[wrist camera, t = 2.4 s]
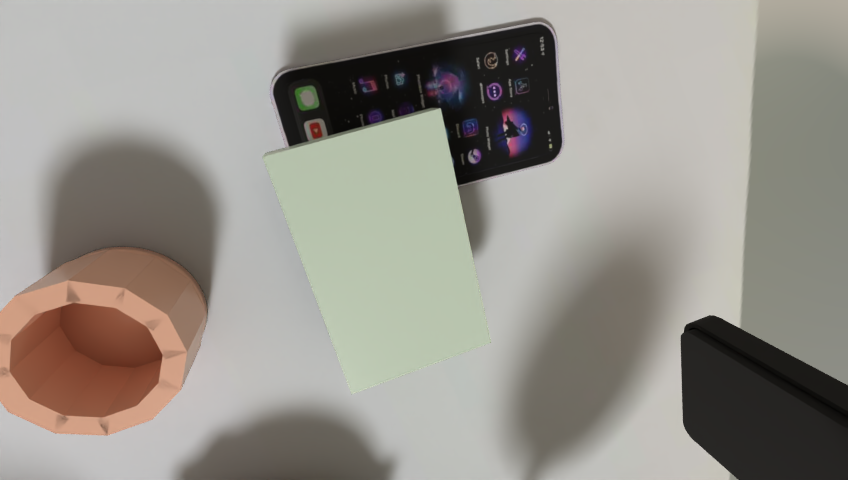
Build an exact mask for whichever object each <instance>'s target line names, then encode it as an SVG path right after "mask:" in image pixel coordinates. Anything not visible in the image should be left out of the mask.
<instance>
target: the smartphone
mask: <svg viewBox="0 0 848 480" xmlns="http://www.w3.org/2000/svg"><path fill="white" fill-rule="evenodd" d="M270 97H271V101H272V104H273V107H274V111H275V114H276V117H277V120H278V124H279V127H280V130H281V134H282V137H283V140H284V143H285V147H289V146H293V145H297V144H300V143H304V142H308V141H312V140H315V139H319V138H323V137H326V136H330V135H334V134H337V133H341V132H345V131H348V130H352V129H356V128H359V127H363V126H367V125H370V124H374V123H378V122H382V121H385V120H389V119H393V118H396V117H400V116H404V115H407V114H411V113H415V112H418V111H422V110H426V109H429V108H441V112H442V117H443V121H444V126H445V131H446V135H447V140H448V144H449V149H450V154H451V158H452V163H453V168H454V172H455V177H456V182H457V186H458V187H461V186H465V185H469V184H473V183H477V182H480V181H484V180H488V179H492V178H496V177H500V176H504V175H508V174H512V173H516V172H520V171H524V170H527V169H531V168H535V167H539V166H543V165H547V164H550V163H552V162H554V161H555V160H556V159H557V158H558V157H559V155H560V154H561V152H562V150H563V147H564V130H563V118H562V105H561V92H560V77H559V61H558V46H557V39H556V35H555V33H554V31H553V29H552V28H551V27H550V26H549V25H547V24H545V23H543V22H533V23H527V24H522V25H517V26H512V27H506V28H501V29H496V30H490V31H485V32H480V33H475V34H470V35H465V36H459V37H454V38H449V39H444V40H438V41H433V42H428V43H423V44H417V45H412V46H407V47H402V48H396V49H391V50H386V51H381V52H375V53H370V54H365V55H360V56H355V57H349V58H344V59H339V60H334V61H328V62H323V63H318V64H313V65H307V66H302V67H297V68H292V69H287V70H285V71H282V72H280V73H279V74H278V75H277V76H276V77H275V78H274V80H273V82H272V84H271V87H270Z"/></svg>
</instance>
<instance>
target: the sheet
mask: <svg viewBox="0 0 848 480" xmlns="http://www.w3.org/2000/svg"><path fill="white" fill-rule="evenodd" d="M263 160H264V162H265V165H266V168H267V170H268V173H269V176H270V178H271V181H272V184H273V186H274V189H275V192H276V194H277V197H278V200H279V202H280V205H281V208H282V210H283V213H284V216H285V218H286V221H287V224H288V226H289V229H290V232H291V234H292V237H293V240H294V242H295V245H296V248H297V250H298V253H299V256H300V258H301V261H302V264H303V266H304V269H305V272H306V274H307V277H308V280H309V282H310V285H311V288H312V290H313V293H314V296H315V298H316V301H317V304H318V306H319V309H320V312H321V314H322V317H323V320H324V322H325V325H326V328H327V330H328V333H329V335H330V338H331V341H332V343H333V346H334V349H335V351H336V354H337V357H338V359H339V362H340V365H341V367H342V370H343V373H344V375H345V378H346V381H347V383H348V386H349V389H350V391H351V394H354V393H357V392H360V391H362V390H365V389H368V388H370V387H373V386H376V385H378V384H381V383H384V382H386V381H389V380H392V379H395V378H397V377H400V376H403V375H405V374H408V373H411V372H413V371H416V370H419V369H421V368H424V367H427V366H430V365H432V364H435V363H438V362H440V361H443V360H446V359H448V358H451V357H454V356H457V355H459V354H462V353H465V352H467V351H470V350H473V349H475V348H478V347H481V346H483V345H486V344H489V343H491V339H490V335H489V330H488V325H487V321H486V316H485V312H484V307H483V302H482V298H481V293H480V288H479V284H478V279H477V274H476V270H475V265H474V261H473V256H472V251H471V247H470V242H469V237H468V233H467V228H466V223H465V219H464V214H463V209H462V205H461V200H460V196H459V191H458V186H457V182H456V177H455V172H454V168H453V163H452V158H451V154H450V149H449V144H448V140H447V135H446V131H445V126H444V121H443V117H442V112H441V108H429V109H426V110H422V111H418V112H415V113H411V114H407V115H404V116H400V117H396V118H393V119H389V120H385V121H382V122H378V123H374V124H370V125H367V126H363V127H359V128H356V129H352V130H348V131H345V132H341V133H337V134H334V135H330V136H326V137H323V138H319V139H315V140H312V141H308V142H304V143H300V144H297V145H293V146H289V147H286V148H282V149H278V150H275V151H271V152H267V153H265V154H264V156H263Z"/></svg>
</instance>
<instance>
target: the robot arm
mask: <svg viewBox="0 0 848 480" xmlns="http://www.w3.org/2000/svg"><path fill="white" fill-rule="evenodd" d="M681 367H682V402H683V424H684V427H685V429H686V431H687V433H688V434H689V435H690V437H691V438H692V439H693V440H694V441H695V442H696V443H698V444H699V445H700V446H701V447H702V448H703V449H704V450H706V451H707V452H708V453H709V454H710V455H711V456H712V457H713V458H715V459H716V460H717V461H718V462H719V463H720V464H721V465H722V466H724V467H725V468H726V469H727V470H728V471H729V472H730V473H732V474H733V475H734V476H735V477H736V478H737V479H739V480H848V385H846V384H844V383H842V382H840V381H838V380H837V379H834V378H833V377H831V376H829V375H827V374H825V373H823V372H821V371H819V370H817V369H816V368H814V367H812V366H810V365H808V364H806V363H804V362H802V361H801V360H799V359H796V358H795V357H793V356H791V355H789V354H787V353H785V352H784V351H782V350H779V349H778V348H776V347H774V346H772V345H770V344H768V343H766V342H764V341H763V340H761V339H759V338H757V337H755V336H753V335H751V334H749V333H747V332H746V331H744V330H742V329H740V328H738V327H736V326H734V325H732V324H730V323H729V322H727V321H725V320H723V319H721V318H719V317H716V316H711V315H709V316H707V317H704V318H702V319H699V320H697V321H694V322H691V323H689V324H687V325H686V326H685V328H684V333H683V334H682V335H681Z"/></svg>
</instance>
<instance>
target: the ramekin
mask: <svg viewBox="0 0 848 480" xmlns="http://www.w3.org/2000/svg"><path fill="white" fill-rule="evenodd" d="M206 323H207V304H206V300H205V297H204V294H203V292H202V290H201V288H200V286H199V284H198V283H197V281H196V280H195V279H194V277H193V276H192V275H191V274H190V273H189V272H188V271H187V270H186V269H185V268H183V267H182V266H181V265H180V264H178V263H177V262H175V261H173V260H172V259H170V258H168V257H166V256H164V255H162V254H160V253H157V252H154V251H151V250H146V249H142V248H135V247H110V248H104V249H99V250H95V251H93V252H90V253H87V254H85V255H83V256H81V257H79V258H77V259H75V260H72V261H69V262H66V263H64V264H62V265H61V266H59V267H58V268H56V269H55V270H53V271H52V272H50V273H49V274H47V275H46V276H44V277H43V278H41V279H40V280H38V281H37V282H35V283H34V284H32V285H31V286H29V287H28V288H26V289H25V290H23V291H22V292H20V293H19V294H17V295H16V296H14V298H13V299H12V300H11V301H10V302H9V303H8V304H7V305H6V306H5V307H4V308H3V310H2V311H1V312H0V402H1V403H2V404H3V406H4V407H5V408H6V410H7V411H8V412H10V413H12V414H14V415H16V416H18V417H21V418H23V419H25V420H27V421H29V422H31V423H34V424H36V425H38V426H40V427H42V428H45V429H47V430H49V431H51V432H53V433H59V434H83V435H110V434H113V433H116V432H118V431H121V430H124V429H127V428H130V427H133V426H135V425H138V424H141V423H144V422H147V421H149V420H152V419H153V418H154V417H155V416H156V415H157V414H158V413H159V412H160V411H161V410H162V409H163V408H164V407H165V406H166V405H167V404H168V403H169V402H170V401H171V400H172V398H173V397H174V396H175V395H176V394H177V393H178V392H179V391H180V390H181V389H182V387H183V384H184V382H185V380H186V377H187V375H188V373H189V371H190V368H191V366H192V364H193V362H194V359H195V357H196V355H197V352H198V350H199V348H200V346H201V340H202V335H203V332H204V330H205V327H206Z"/></svg>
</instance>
